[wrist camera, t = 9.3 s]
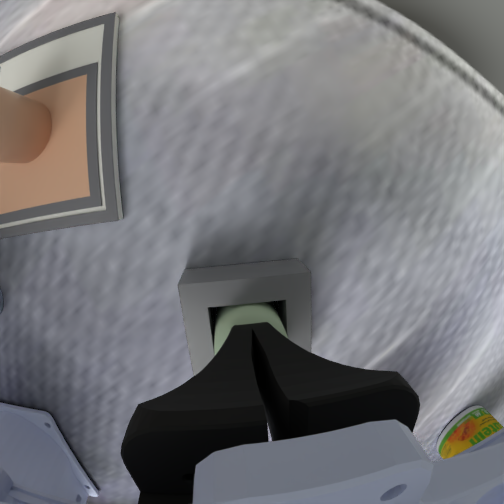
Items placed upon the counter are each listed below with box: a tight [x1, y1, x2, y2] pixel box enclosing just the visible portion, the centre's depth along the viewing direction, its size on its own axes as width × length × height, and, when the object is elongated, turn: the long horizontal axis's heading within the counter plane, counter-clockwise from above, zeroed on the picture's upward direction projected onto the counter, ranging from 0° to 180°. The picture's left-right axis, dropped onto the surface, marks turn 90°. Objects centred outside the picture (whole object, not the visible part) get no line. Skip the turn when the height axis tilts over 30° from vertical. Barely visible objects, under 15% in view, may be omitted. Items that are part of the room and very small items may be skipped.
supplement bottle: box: [437, 405, 504, 459], centre depth 14 cm, size 5×5×10 cm
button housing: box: [178, 258, 311, 376], centre depth 13 cm, size 5×5×2 cm
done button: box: [214, 301, 288, 355], centre depth 13 cm, size 3×3×3 cm
